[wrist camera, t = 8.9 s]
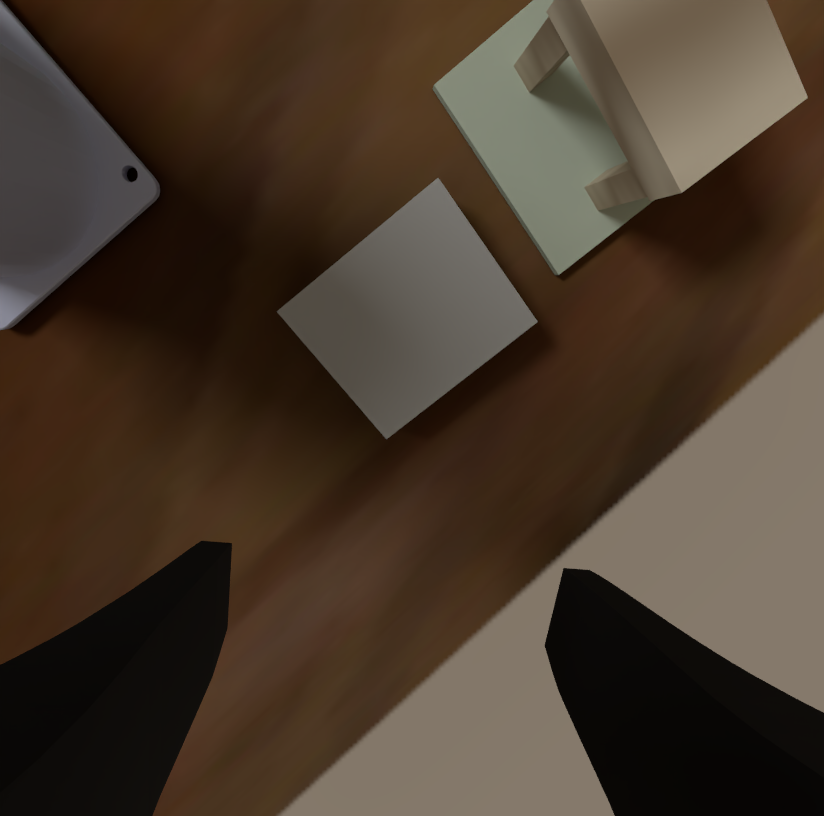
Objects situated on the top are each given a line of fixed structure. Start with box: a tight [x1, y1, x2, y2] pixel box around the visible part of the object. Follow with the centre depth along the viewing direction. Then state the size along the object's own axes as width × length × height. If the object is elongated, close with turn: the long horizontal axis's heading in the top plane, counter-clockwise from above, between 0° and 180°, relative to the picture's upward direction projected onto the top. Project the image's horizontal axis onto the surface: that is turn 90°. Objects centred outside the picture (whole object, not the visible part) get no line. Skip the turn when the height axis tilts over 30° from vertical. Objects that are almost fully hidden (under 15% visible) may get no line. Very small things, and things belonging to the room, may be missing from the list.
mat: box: [433, 0, 654, 275], centre depth 18 cm, size 8×9×1 cm
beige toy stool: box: [514, 0, 808, 210], centre depth 15 cm, size 6×4×5 cm, turn 37°
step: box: [277, 178, 538, 439], centre depth 18 cm, size 6×7×2 cm
